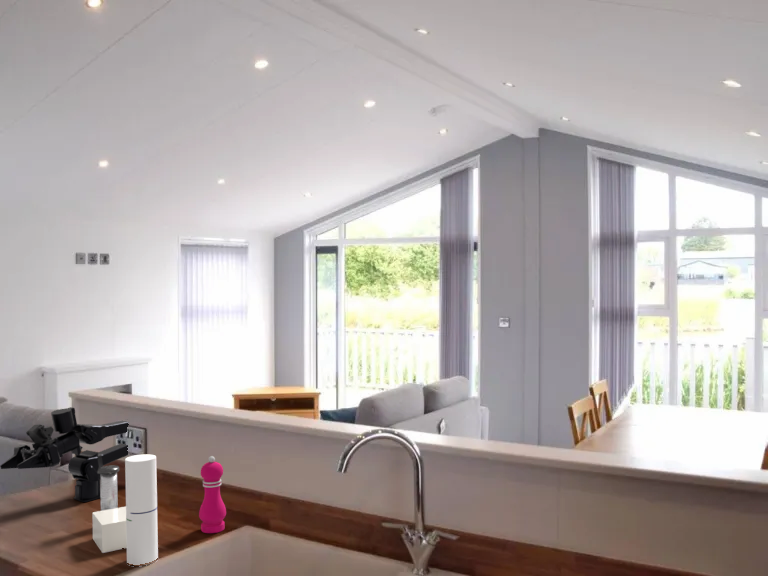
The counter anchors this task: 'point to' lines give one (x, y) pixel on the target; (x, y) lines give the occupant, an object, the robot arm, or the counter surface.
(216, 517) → the pepper mill
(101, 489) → the silver jar
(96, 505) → the counter surface
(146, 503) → the cylindrical container
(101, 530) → the block
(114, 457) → the robot arm
